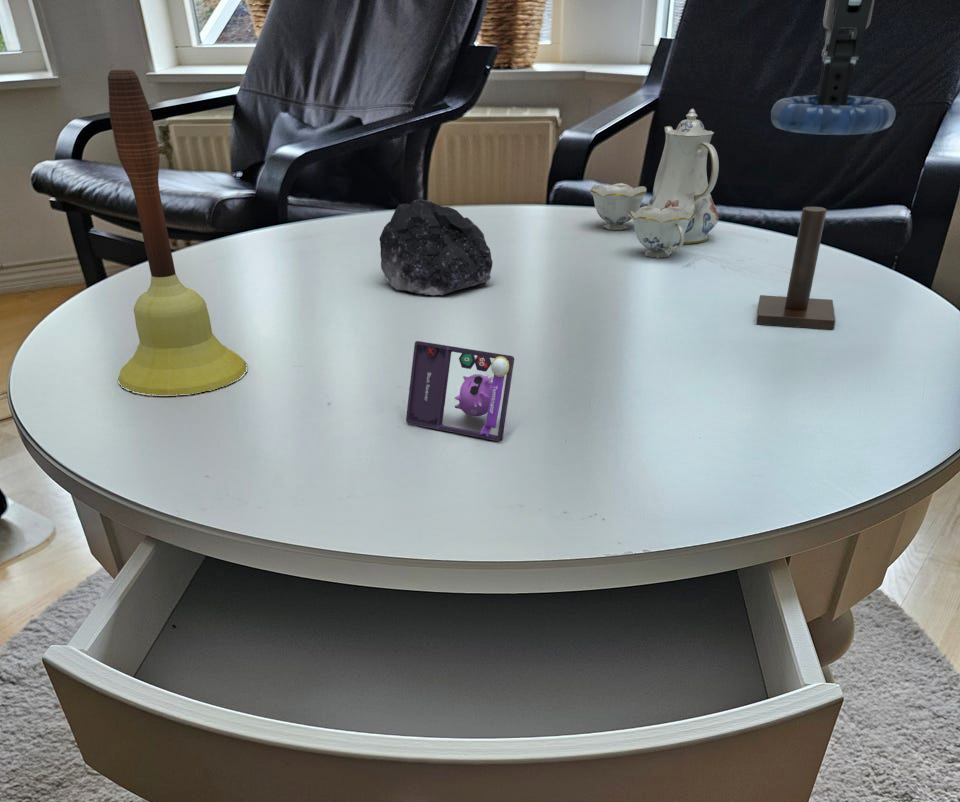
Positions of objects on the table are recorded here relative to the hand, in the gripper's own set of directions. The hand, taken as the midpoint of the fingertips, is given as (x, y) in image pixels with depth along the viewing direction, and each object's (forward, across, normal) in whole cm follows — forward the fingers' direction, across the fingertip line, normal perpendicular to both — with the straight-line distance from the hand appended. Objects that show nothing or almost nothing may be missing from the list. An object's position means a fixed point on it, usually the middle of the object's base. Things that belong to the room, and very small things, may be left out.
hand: (828, 114), depth 77 cm
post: (+21, +14, -1) cm, 25 cm away
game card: (+21, -23, +26) cm, 41 cm away
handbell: (+21, -18, +56) cm, 63 cm away
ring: (0, -4, 0) cm, 4 cm away
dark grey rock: (+21, +19, +42) cm, 50 cm away
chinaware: (+21, +49, +17) cm, 56 cm away
